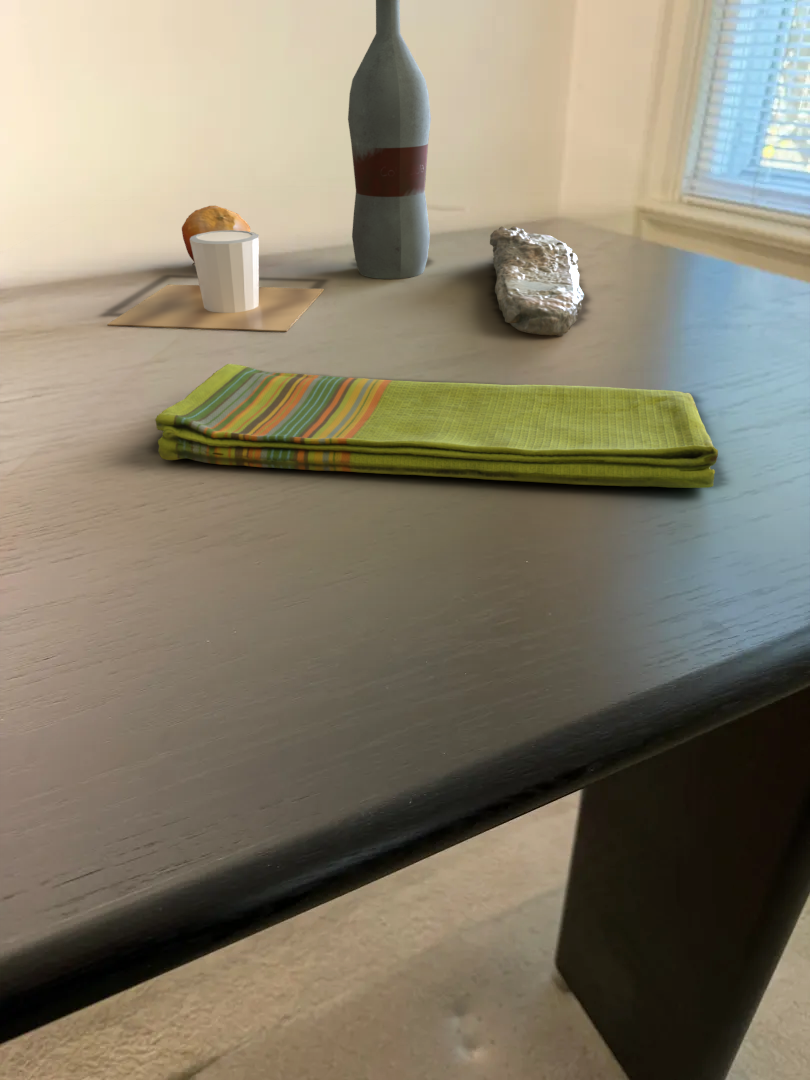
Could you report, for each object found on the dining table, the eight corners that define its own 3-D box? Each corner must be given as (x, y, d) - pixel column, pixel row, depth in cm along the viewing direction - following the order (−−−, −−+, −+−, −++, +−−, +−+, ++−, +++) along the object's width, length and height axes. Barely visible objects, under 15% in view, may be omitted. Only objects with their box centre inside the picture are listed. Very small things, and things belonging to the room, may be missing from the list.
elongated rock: (484, 351, 83) (591, 359, 82) (489, 295, 80) (600, 303, 80) (487, 250, 112) (566, 256, 112) (491, 207, 109) (572, 212, 109)
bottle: (356, 261, 110) (347, -24, 95) (430, 262, 110) (432, -25, 95) (349, 280, 102) (338, -29, 87) (429, 280, 102) (431, -30, 87)
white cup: (218, 318, 88) (210, 245, 84) (186, 304, 93) (177, 235, 89) (277, 306, 92) (272, 236, 88) (243, 293, 96) (236, 226, 93)
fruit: (223, 243, 113) (234, 190, 107) (253, 285, 111) (267, 233, 104) (165, 252, 109) (173, 197, 103) (195, 296, 106) (205, 243, 100)
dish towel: (229, 385, 71) (225, 346, 70) (686, 407, 66) (693, 366, 65) (153, 465, 58) (145, 419, 57) (716, 500, 53) (726, 451, 52)
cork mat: (107, 325, 87) (107, 324, 87) (168, 285, 100) (168, 284, 100) (286, 332, 84) (286, 330, 84) (323, 290, 98) (323, 288, 98)
